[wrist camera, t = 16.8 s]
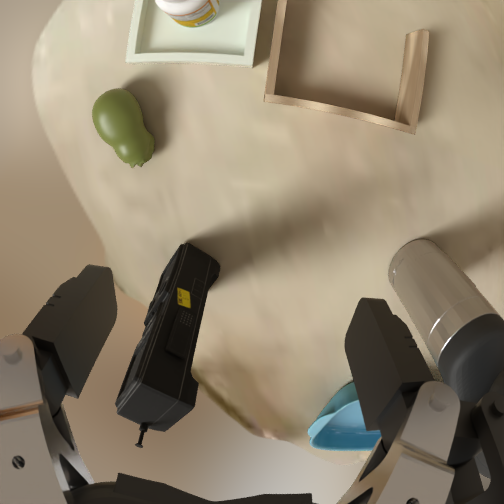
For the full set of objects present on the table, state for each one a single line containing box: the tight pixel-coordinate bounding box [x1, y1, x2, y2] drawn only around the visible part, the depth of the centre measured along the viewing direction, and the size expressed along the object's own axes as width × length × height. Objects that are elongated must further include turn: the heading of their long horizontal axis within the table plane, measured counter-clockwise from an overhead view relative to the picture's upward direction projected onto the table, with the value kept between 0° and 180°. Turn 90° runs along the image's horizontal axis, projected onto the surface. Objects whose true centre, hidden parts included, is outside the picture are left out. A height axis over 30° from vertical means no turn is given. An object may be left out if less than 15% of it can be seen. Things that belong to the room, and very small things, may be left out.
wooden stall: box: [263, 0, 429, 135], centre depth 27 cm, size 17×13×4 cm
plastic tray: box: [125, 0, 262, 68], centre depth 25 cm, size 14×14×2 cm
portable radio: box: [115, 243, 220, 448], centre depth 30 cm, size 8×6×25 cm
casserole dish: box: [308, 382, 381, 451], centre depth 55 cm, size 37×22×7 cm, turn 74°
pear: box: [92, 88, 155, 168], centre depth 31 cm, size 6×5×10 cm
